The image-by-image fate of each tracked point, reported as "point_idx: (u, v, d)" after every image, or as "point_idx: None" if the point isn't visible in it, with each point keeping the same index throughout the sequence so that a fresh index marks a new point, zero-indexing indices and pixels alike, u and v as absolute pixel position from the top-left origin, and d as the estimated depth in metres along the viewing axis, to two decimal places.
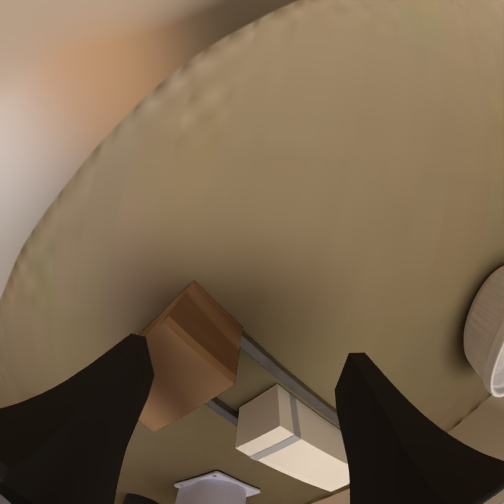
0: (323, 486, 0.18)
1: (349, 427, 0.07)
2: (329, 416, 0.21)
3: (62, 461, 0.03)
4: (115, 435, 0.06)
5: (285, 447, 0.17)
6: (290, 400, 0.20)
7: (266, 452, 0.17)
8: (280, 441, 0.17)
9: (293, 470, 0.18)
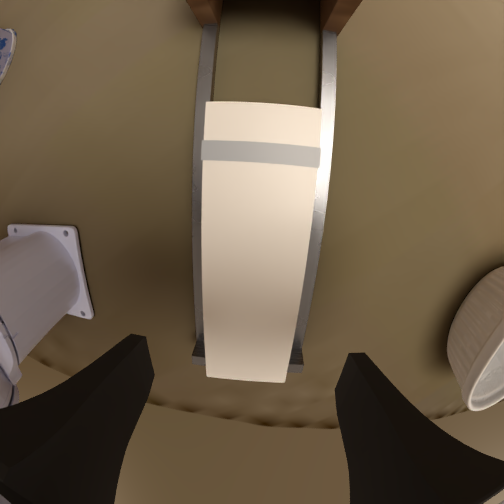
0: (212, 350, 0.14)
1: (349, 427, 0.07)
2: (311, 234, 0.16)
3: (62, 461, 0.03)
4: (115, 435, 0.06)
5: (280, 163, 0.10)
6: None
7: (240, 150, 0.10)
8: (286, 143, 0.10)
9: (221, 252, 0.12)
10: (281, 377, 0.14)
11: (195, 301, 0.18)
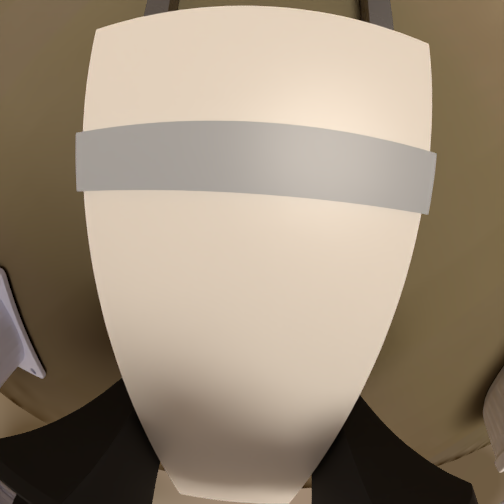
0: (182, 481, 0.07)
1: None
2: None
3: (109, 483, 0.03)
4: None
5: (317, 197, 0.03)
6: None
7: (180, 152, 0.03)
8: (336, 127, 0.03)
9: (166, 396, 0.04)
10: (284, 500, 0.07)
11: None
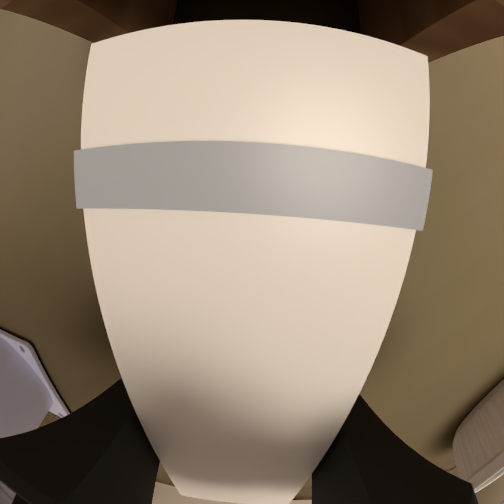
0: (183, 483, 0.07)
1: None
2: None
3: (108, 482, 0.03)
4: None
5: (312, 217, 0.03)
6: None
7: (177, 172, 0.03)
8: (332, 146, 0.03)
9: (167, 403, 0.05)
10: (284, 502, 0.07)
11: None
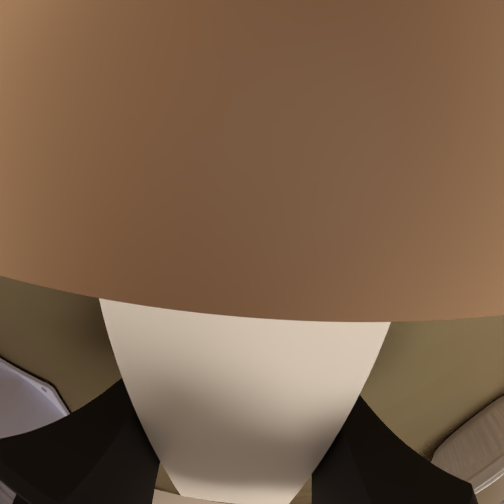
0: (183, 483, 0.07)
1: None
2: None
3: (109, 483, 0.03)
4: None
5: None
6: None
7: None
8: None
9: (168, 406, 0.05)
10: (283, 502, 0.07)
11: None
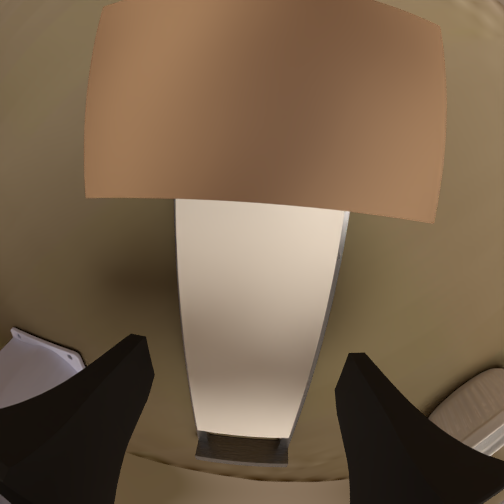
0: (202, 408, 0.10)
1: (349, 427, 0.07)
2: None
3: (62, 461, 0.03)
4: (115, 435, 0.06)
5: None
6: None
7: None
8: None
9: (207, 305, 0.08)
10: (285, 433, 0.11)
11: (195, 421, 0.17)
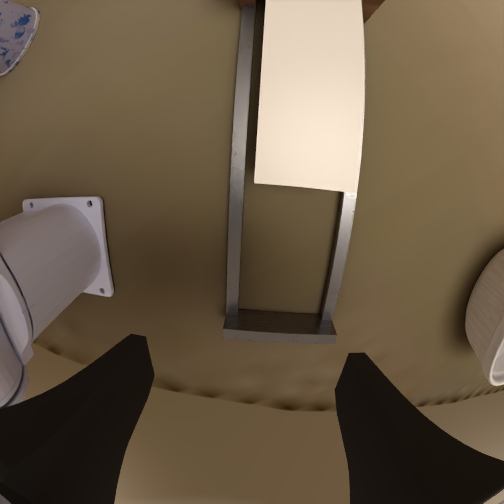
0: (267, 133, 0.11)
1: (349, 427, 0.07)
2: (346, 200, 0.16)
3: (62, 461, 0.03)
4: (115, 435, 0.06)
5: None
6: None
7: None
8: None
9: (284, 20, 0.08)
10: (352, 183, 0.11)
11: (228, 270, 0.18)
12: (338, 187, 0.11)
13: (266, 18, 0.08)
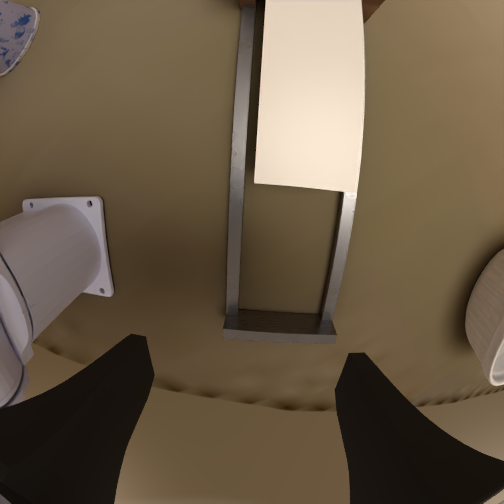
0: (267, 133, 0.11)
1: (349, 427, 0.07)
2: (346, 200, 0.16)
3: (62, 461, 0.03)
4: (115, 435, 0.06)
5: None
6: None
7: None
8: None
9: (284, 20, 0.08)
10: (352, 183, 0.11)
11: (228, 270, 0.18)
12: (338, 187, 0.11)
13: (266, 18, 0.08)
